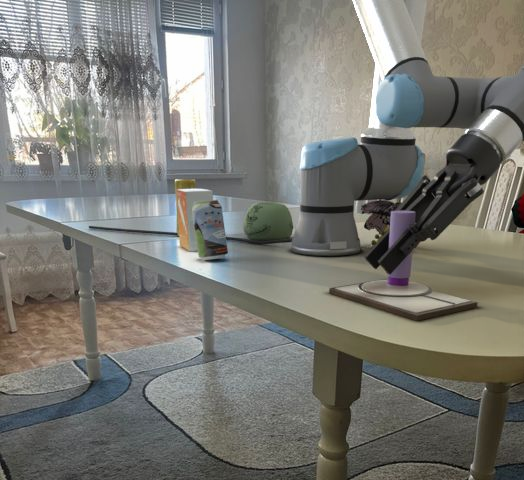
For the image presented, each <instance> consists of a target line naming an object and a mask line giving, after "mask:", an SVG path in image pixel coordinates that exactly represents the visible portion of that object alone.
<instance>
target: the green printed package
mask: <svg viewBox="0 0 524 480" xmlns="http://www.w3.org/2000/svg"><path fill="white" fill-rule="evenodd" d="M192 215H193V222H194V228H195V235H196V242H197V248H198V251H197V254H198V257H199V258H201V259H202V260H203V261H210V260H217V259H223V258H225V257H226V255H227V254H228V253H229V250H228V244H227V240H226V237H227V236H226V235H227V234H226V229H225V228H226V227H225V220H224V214H223V207H222V205H221V203H220V202H219V199H213V200H206V201H199V202H194V206H193V208H192Z"/></svg>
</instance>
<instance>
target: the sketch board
mask: <svg viewBox="0 0 524 480" xmlns="http://www.w3.org/2000/svg"><path fill="white" fill-rule="evenodd" d="M328 289H329V290H328V293H329V294H331V295H334V296H337V297H341V298H343V299H345V300H346V299H347V300H350V301H352V302H355V303H360V304H362V305H364V306H365V305H366V306H368V307H372V308H375V309H378V310H382V311H383V312H388V313H391V314H393V315H397V316H400V317H403V318H406V319H410V320H413V321H416V322H419V321H424V320H428V319H431V318H432V319H433V318H436V317H440V316H444V315H450V314H454V313H459V312H462V311H467V310H472V309H476V308H478V303H479V302H478V301H475V300H471V299H467V298H464V297H459V296H455V295H451V294H448V293H444V292H439V291H435V290H433V288H432V287H431V286H429V285H427V284H424V283H420V282H417V281H410V280H409V283H408V285H404V286H395V285H390V284H388V278H382V279H377V280H375V279H374V280H369V281H368V280H367V281H364V282H359V283H352V284H345V285H341V286H335V287H329V288H328Z"/></svg>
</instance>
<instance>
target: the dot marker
mask: <svg viewBox="0 0 524 480" xmlns="http://www.w3.org/2000/svg"><path fill="white" fill-rule="evenodd" d="M415 214H416V212H415V211H391V220H390V235H389V248H390V247H391V246H392V245H393V244H394V243H395V242H396V241H397V240H398V239H399V237H400V236H401V235H402V234H403V233H404V232H405V231H406V230H407V229H408V230H410V231H411V232H413V231H412V229H411V228H410V227H409V225H410V224H415ZM412 261H413V251H412V252H411V253H410V254H409V255H408V256H407V257H406V258H405V259H404V260H403V261H402V262H401V263H400V265H399V266H398V267H397V268H396V269H395V270H394V271H393V272H392V273H391V274H388V273H387V272H386V276H387V279H388V284H390V285H395V286H404V285H408V283H409V281H410V277H411V274H412Z"/></svg>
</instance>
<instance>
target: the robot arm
mask: <svg viewBox="0 0 524 480" xmlns="http://www.w3.org/2000/svg"><path fill="white" fill-rule="evenodd" d="M352 2H353V5H354V8H355V11H356V13H357V17H358V18H359V21H360V24H361V27H362V31H363V33H364V34H365V38H366V41H367V43H368V46H369V50H370V53H371V54H372V57H373V60H374V63H375V66H374V76H373V83H372V84H373V86H372V95H371V105H370V115H369V124H368V126H367V128H366V129H365V130H364V131H363V132H362V133H361V135H360V143H359V142H358V138H357V137H354V136H352V137H351V136H350V137H341V138H333V139H326V140H320V141H314V142H309V143H306V144H305V145H304V146H303V147H302V150H301V156H300V164H299V169H300V177H299V178H300V179H299V181H300V186H299V187H300V188H299V189H300V190H299V191H300V192H299V194H300V195H299V216H298V217H299V218H298V220H297V223H296V227H295V230H294V234H293V236H292V238H287V239H280V240H271V241H261V240H253V239H250V238H242V237H233V236H226V241H233V242H242V243H243V242H244V243H249V244H254V245H255V244H256V245H273V244H283V243H291V244H290V245H291V246H290V247H291V248H290V250H291V251H292V252H293V253H296V254H300V255H304V256H306V255H307V256H316V257H339V256H341V257H342V256H350V255H355V254H359V253H360V252H361V239H360V238H359V233H358V228H357V224H356V219H355V215H354V213H355V212H354V211H355V202H358V201H378V200H386V201H392V200H398V199H403V198H405V199H404V200H403V201H402V202H401V205H400V206H399V207H398V208H397V209H396V210H395V211H415V212H416V214H415V224H410V225H409V227H410V228H411V229H412V231H413V232H411V231H410V230H408V229H407V230H406V231H405V232H404V233H403V234H402V235H401V236H400V237H399V239H398V240H397V241H396V242H395V243H394V244H393V245H392V246H391V247H390V248H389V235H390V229H389V230H388V231H387V232H386V233H385V234H384V235H383V236H382V238H381V239H380V240H379V241H378V242H377V243H376V244H375V245H374V246H373V245H372V247H373V248H370V250H369V251H367V253H366V254H365V255H363V258H364V259H365V260H366V262H367V263H368V264H369V265H370V266H371V267H372V268H373V269H375V270H377V269H378V268H379V267H382V269H383V270H384V271H385V273H386V274H387V273H388V274H391V273H392V272H393V271H394V270H395V269H396V268H397V267H398V266H399V265H400V263H401V262H402V261H403V260H404V259H405V258H406V257H407V256H408V255H409V254H410V253H411V252H412V253H413V251H414V250H415V249H416V248H417V246H418V245H420V243H423V242H425V241H427V240H428V239H430V240H431V241H435V240H436V239H437V238H438V237H440V235H441V234H442V233H443V232H444V231H445V230H446V229H447V228H448V227H449V226H450V225H451V224H452V223H453V222H454V221H455V220H456V219H457V217H459V216H460V215H461V214H462V212H463V211H464V210H465V209H466V208H467V207H468V206H469V205H471V203H472V202H474V201H475V200H476V199H478V198H480V197H481V196H482V195H483V194H484V192H485V190H484V188H483V187H482V186H483V185H485V184H487V182H488V181H489V180H491V178H492V176H493V175H494V174H495V173H496V172H497V171H498V170H499V169H500V167H501V165H503V164H504V163H505V162H506V161H507V160H508V159H509V158H511V156H512V155H513V153H514V152H515V151H516V150H517V148H519V146H520V145H521V144H522V143H523V142H524V65H523V66H521V68H520V69H519V71H518V72H517V73H516V74H513V75H505V76H500V77H499V76H497V77H486V78H483V77H482V78H479V77H478V78H474V77H453V76H452V77H451V76H439V75H434V73H433V71H432V69H431V65H430V64H429V62H428V59H427V57H426V54H425V52H424V49H423V47H422V40H423V34H424V33H423V32H424V26H425V18H426V16H425V15H426V10H427V3H428V0H352ZM411 128H440V129H441V128H442V129H461V130H464V129H466V130H465V131H464V134H462V135H461V136H459V138H458V139H457V140H456V141H455V142H454V143H453V144H452V145H451V146H450V148H449V149H448V150H447V152H446V155H445V160H446V163H445V166H444V167H442V169H440V170H439V171H438V172H437V173H435V175H434V176H433V177H428V175H427V174H424V175H423V172H424V166H425V158H424V157H423V151H422V149H421V148H420V146H419V145H417V144H416V140H417V136H416V135H415V133H414V132H413V131H412V129H411ZM390 220H391V216H390V217H389V219H388V222H389V223H390ZM88 229H92V230H93V229H94V230H102V231H112V232H124V233H136V234H137V233H138V234H151V235H162V236H163V235H165V236H176V237H178V236H177V235H178V233H177V232H174V231H173V232H172V231H160V230H145V229H144V230H143V229H133V228H131V229H130V228H118V227H108V226H107V227H106V226H96V225H88Z"/></svg>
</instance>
